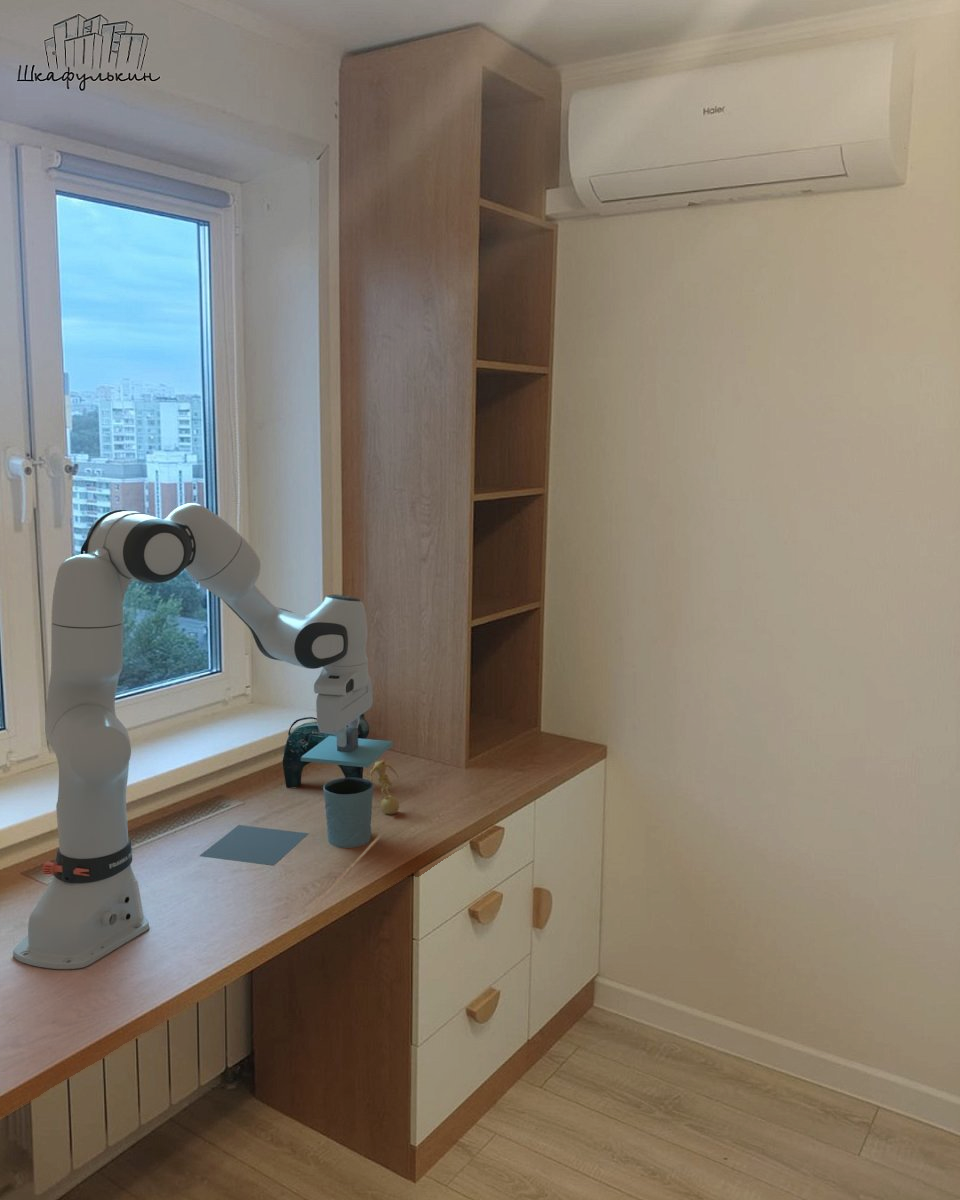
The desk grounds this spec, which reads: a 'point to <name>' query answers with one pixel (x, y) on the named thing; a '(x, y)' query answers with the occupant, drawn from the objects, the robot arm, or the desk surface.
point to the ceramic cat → (305, 741)
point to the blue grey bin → (348, 811)
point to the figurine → (388, 803)
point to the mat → (255, 845)
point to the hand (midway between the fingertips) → (347, 742)
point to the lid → (348, 750)
